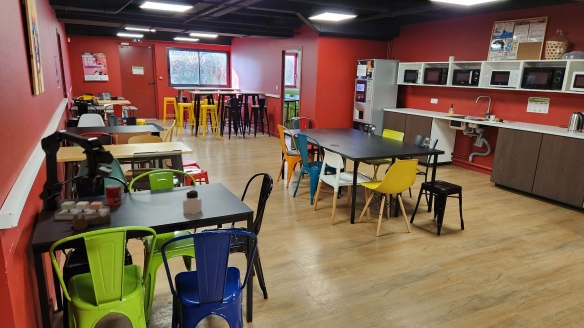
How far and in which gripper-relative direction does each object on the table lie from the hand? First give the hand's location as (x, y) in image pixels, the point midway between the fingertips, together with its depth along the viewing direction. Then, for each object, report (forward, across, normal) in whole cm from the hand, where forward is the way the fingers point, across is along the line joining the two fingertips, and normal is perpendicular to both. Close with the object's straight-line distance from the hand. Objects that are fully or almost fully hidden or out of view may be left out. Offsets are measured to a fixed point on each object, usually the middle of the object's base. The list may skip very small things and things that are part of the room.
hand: (95, 192), depth 195 cm
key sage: (+9, 0, +14) cm, 16 cm away
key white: (+9, 0, +7) cm, 11 cm away
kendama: (+13, -14, -2) cm, 19 cm away
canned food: (+13, +18, -2) cm, 22 cm away
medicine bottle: (+13, +5, -48) cm, 50 cm away
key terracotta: (+9, 0, 0) cm, 9 cm away
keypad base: (+12, 0, +7) cm, 14 cm away
